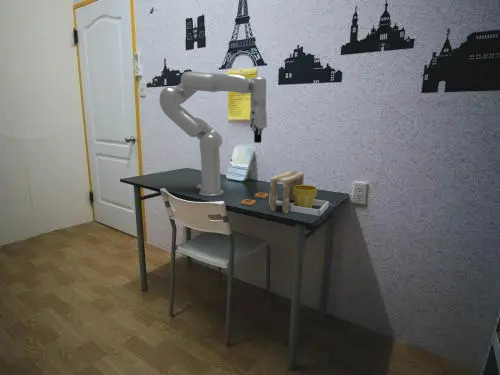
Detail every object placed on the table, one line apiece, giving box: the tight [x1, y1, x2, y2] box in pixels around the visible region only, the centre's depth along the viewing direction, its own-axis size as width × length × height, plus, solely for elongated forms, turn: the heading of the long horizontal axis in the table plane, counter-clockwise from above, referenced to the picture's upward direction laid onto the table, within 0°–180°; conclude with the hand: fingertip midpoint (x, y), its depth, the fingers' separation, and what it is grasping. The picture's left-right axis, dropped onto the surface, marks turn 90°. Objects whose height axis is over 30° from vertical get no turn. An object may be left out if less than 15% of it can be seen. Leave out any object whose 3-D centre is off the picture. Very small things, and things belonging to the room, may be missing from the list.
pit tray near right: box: [240, 198, 257, 207], centre depth 140 cm, size 5×5×2 cm
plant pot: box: [293, 184, 318, 209], centre depth 133 cm, size 10×10×10 cm
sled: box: [268, 191, 330, 217], centre depth 135 cm, size 25×15×5 cm, turn 62°
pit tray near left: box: [254, 192, 269, 200], centre depth 152 cm, size 5×5×2 cm
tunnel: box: [269, 170, 305, 214], centre depth 137 cm, size 8×21×14 cm, turn 152°
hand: (257, 142), depth 150 cm, fingers closed
